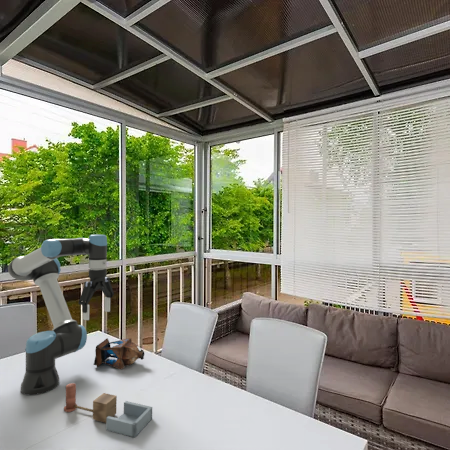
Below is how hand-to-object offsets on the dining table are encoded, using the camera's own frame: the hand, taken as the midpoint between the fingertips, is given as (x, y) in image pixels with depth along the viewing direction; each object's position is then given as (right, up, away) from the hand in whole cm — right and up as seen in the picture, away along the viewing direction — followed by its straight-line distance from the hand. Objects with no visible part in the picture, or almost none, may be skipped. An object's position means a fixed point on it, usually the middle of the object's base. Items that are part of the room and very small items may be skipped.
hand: (97, 315), depth 142 cm
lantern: (+3, -33, +23) cm, 40 cm away
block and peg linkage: (+4, -33, -19) cm, 38 cm away
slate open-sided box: (+23, -33, -25) cm, 48 cm away
